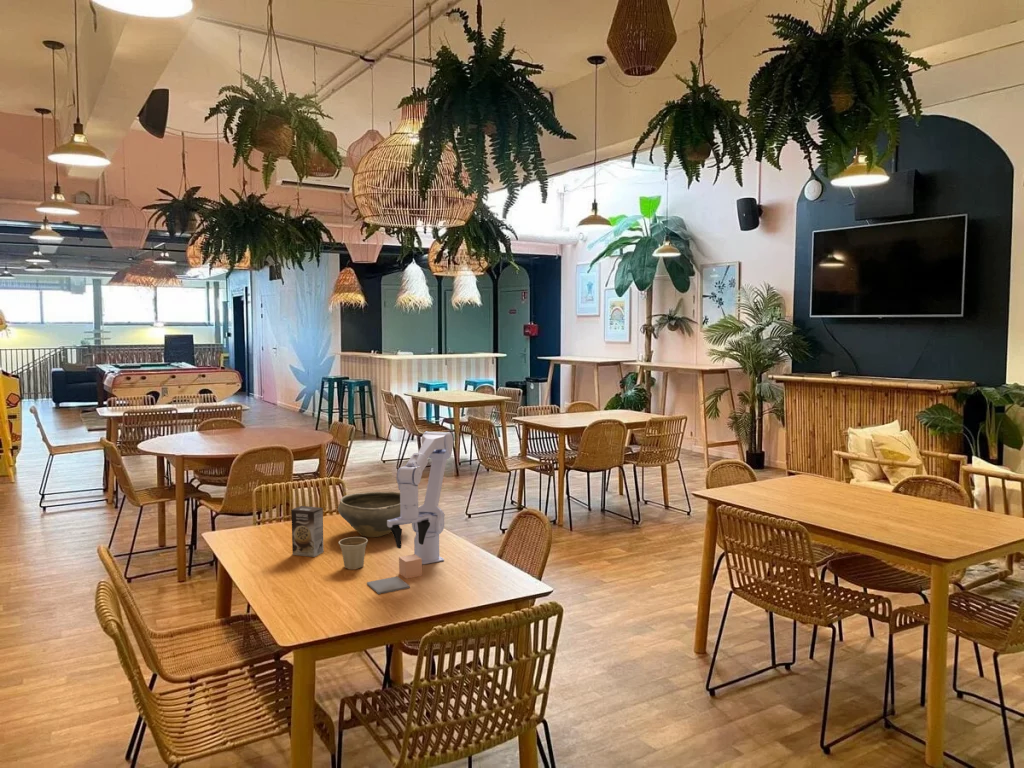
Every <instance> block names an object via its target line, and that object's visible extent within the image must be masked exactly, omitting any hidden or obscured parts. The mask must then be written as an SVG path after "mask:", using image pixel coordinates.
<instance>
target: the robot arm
mask: <svg viewBox="0 0 1024 768" xmlns="http://www.w3.org/2000/svg"><path fill="white" fill-rule="evenodd" d="M453 448H454V437H453V434H452V432H451V431H448V432H445V431H444V432H442V431H427V430H426V431H424V433H422V436H421V446H420V447H419V450H418V451H417V452H414V453H413V454H412V455H411V456H410V458H408V461H407V462H406V464H405V465H404V466H401V467H398V470H397V472H396V476H395V477H396V478H395V479H396V483H397V487H398V490H399V493H400V515H401V517H398V518H394V519H391V520H387V526H388V527H389V528H390V530H391V533H392V535H393V539H394V540H395V546H396V548H397V549H398V550H399V549H402V532H403V528H402V527H401V526H403V525H411V527H412V531H413V532H414V533H415V536H414V538H413V541H414V542H413V545H414V553H413V554H415V555H417V556H418V557H420V558H421V559H422V565H427V564H433V563H438V562H443V561H445V558H443V557H442V556H440V535H441V534H442V533H443V531H444V529H445V518H446V517H445V512H444V511H443V510H442V509H441V507H439V504H440V499H441V491H442V487H443V482H444V476H445V475H444V474H445V470H446V465H447V460H448V459H451V457H452V453H453ZM428 458H429V459H431V464H430V470H429V475H428V480H427V486H426V492H425V496H424V502H423V504H422V505H420V506H419V484H420V483H421V480H422V476H423V471H424V470H425V469H426V467H427V465H428V463H429V460H428Z"/></svg>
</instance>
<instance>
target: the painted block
mask: <svg viewBox="0 0 1024 768" xmlns="http://www.w3.org/2000/svg"><path fill="white" fill-rule="evenodd" d="M398 570H399V571H398V573H399V575H401V576H402V577H403V578H405V579H411V578H415V577H421V576H423V564H422V559H421V558H420V557H418V556H417V555H415V554H414V553H413V554H409V555H403V556H399V557H398Z"/></svg>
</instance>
